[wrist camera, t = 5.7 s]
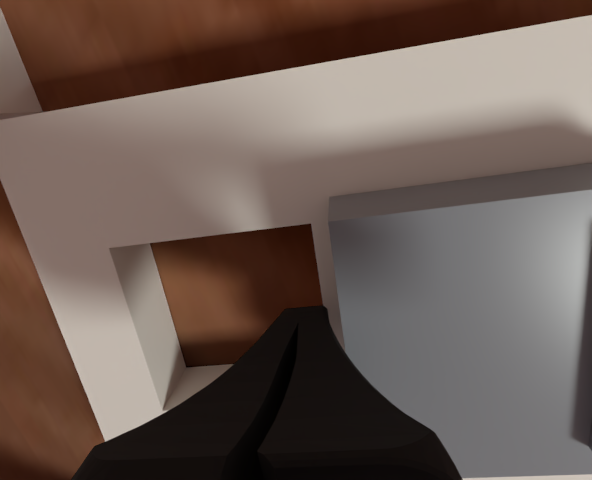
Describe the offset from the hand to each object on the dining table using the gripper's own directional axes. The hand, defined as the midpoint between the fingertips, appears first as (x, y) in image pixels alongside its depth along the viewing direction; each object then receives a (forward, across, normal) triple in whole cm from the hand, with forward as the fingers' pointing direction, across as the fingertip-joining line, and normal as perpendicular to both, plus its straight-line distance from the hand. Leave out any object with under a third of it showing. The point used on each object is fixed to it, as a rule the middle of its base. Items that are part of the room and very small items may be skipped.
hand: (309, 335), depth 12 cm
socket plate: (+3, -1, 0) cm, 4 cm away
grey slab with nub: (+1, -5, 0) cm, 5 cm away
